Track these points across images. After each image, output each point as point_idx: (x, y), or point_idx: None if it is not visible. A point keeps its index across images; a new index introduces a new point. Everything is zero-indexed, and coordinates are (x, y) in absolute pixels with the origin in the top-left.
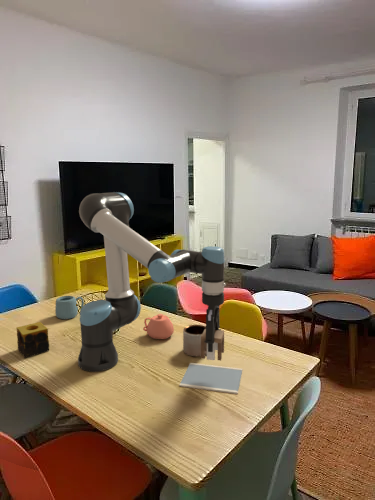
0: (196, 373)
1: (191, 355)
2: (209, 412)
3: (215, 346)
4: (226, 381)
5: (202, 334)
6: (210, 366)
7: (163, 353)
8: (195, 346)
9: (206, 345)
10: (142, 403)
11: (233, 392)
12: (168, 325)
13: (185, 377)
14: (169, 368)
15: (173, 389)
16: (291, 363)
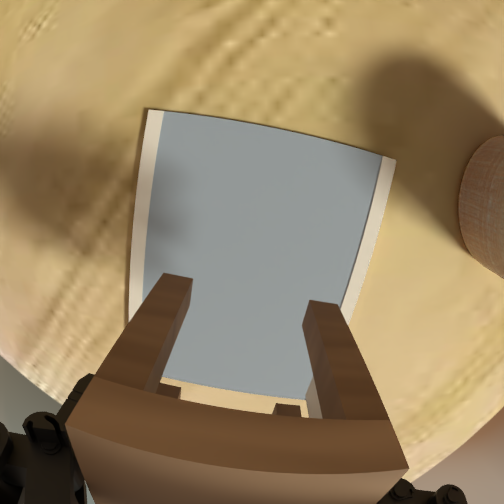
0: (277, 195)
1: (464, 173)
2: (13, 259)
3: (315, 400)
4: (206, 341)
5: (162, 459)
6: (352, 273)
7: (478, 36)
8: (493, 206)
9: (312, 348)
10: (40, 7)
11: None
12: None
13: (229, 133)
14: (338, 43)
15: (122, 87)
16: None
